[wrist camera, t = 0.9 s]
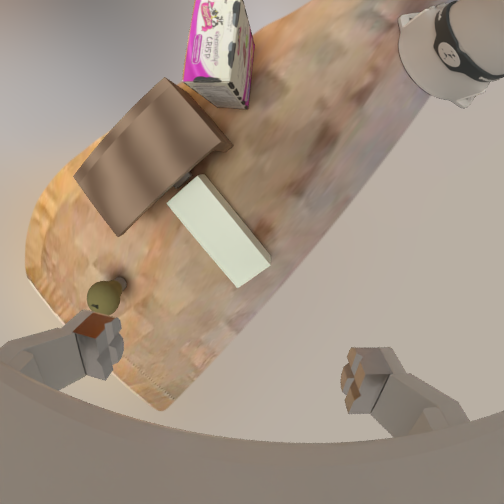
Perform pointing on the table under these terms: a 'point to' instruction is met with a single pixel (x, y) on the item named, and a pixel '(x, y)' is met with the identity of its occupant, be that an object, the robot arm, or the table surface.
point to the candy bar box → (220, 53)
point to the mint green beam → (220, 230)
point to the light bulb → (106, 295)
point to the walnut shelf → (148, 154)
